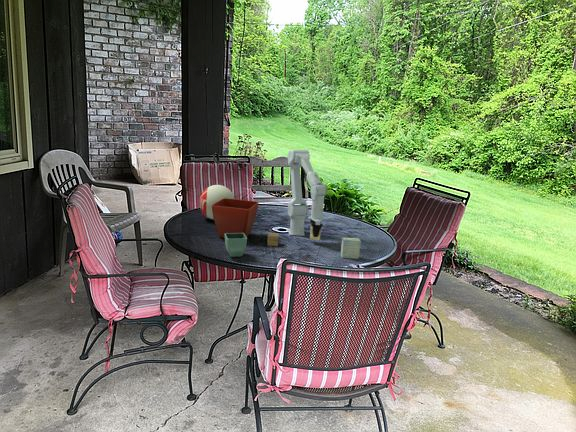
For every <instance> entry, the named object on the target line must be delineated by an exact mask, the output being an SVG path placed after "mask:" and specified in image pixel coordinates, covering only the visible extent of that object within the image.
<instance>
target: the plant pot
mask: <svg viewBox="0 0 576 432" xmlns="http://www.w3.org/2000/svg"><path fill="white" fill-rule="evenodd" d="M258 208H259V201H255V200H254V201H253V200H245V199H237V198H236V199H228V198H223V199H221V200H220V201H218V202H216V203H214V204H213V205H212V212H213V218H214V220H213V222H214V224H215V225H214V226H215V229H216V232H217V235H218V237H219V238H221V239H225V233H244V234H245V236H246V237H247V238H248V236H249V235H250V234H251V233H252V232H251V231H252V229H253V226H254V224H255V220H256V217H257V212H258Z"/></svg>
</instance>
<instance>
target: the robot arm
mask: <svg viewBox="0 0 576 432" xmlns="http://www.w3.org/2000/svg"><path fill="white" fill-rule="evenodd" d="M310 159H311V155H310V152H309V150H308V149H290V150H289V151H288V153H287V163H288V164H287V165H288V167H289V170H290V171H289V174H290V186H291V196H292V199H290V201H289V202H288V203H287V214H288V216H289V218H290V223H289V229H288V235H289V236H303V237H304V236H305V235H306V234H305V230H304V227H305V219H306V216H308V214H309V207H308V202H307V201H306V200H305V199H304V198H303V191H302V189H303V188H302V177H301V168H303V171H304V172H305V174H306V180H307V182H308V184H309V186H310V189H309V190H310V191H309V192H310V198H311V210H310V216H308V217H307V218H308V219H309V221H310V225H311V227H312V228H313V236H314V237H318V235H319V232H320V229H322V227H323V226H324V224H323V223H321V222H322V221H323V220H324V217H323V215H324V214H323V213H324V204H325V203H324V202H325V196H326V195H327V193H328V187H327V184H325V183H323V182H322V181H321V178H320V177H319V175H318V173H317V172H316V171H314V169H313V166H312V164H311V161H310Z"/></svg>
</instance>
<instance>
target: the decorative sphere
mask: <svg viewBox="0 0 576 432" xmlns="http://www.w3.org/2000/svg"><path fill="white" fill-rule="evenodd" d="M234 196H235V195H234V194H233V192H232V191H231V190H230V189H229V187H227V186H224V185H222V184H214V185H210V186H207V187H206V188H205V189H204V190H203V191H202V193H201V194H200V197H199V201H198V202H199V203H198V204H199V208H200V211H201V213H202V214H203V215H204V216H205V217H206V218H208V219H210V220H213V221H214V218H213V212H212V205H213V204H214V203H216V202H218V201H220V200H221V199H223V198H228V199H235V197H234Z"/></svg>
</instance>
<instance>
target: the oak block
mask: <svg viewBox="0 0 576 432" xmlns="http://www.w3.org/2000/svg"><path fill="white" fill-rule="evenodd" d="M321 229H322V228H321ZM321 229H320V232H319V235H318V237H314V236H313V228H312V226H310V231H309V233H310V234H309V239H310V240H311V241H320V240H321V231H322V230H321Z"/></svg>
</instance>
